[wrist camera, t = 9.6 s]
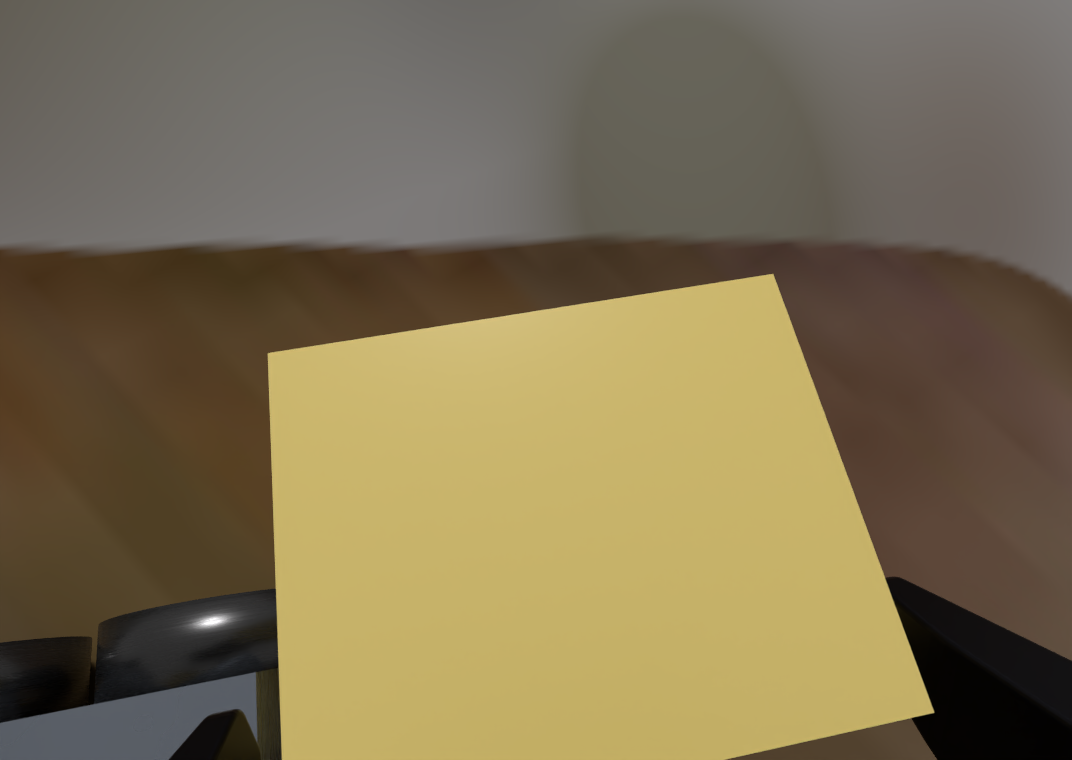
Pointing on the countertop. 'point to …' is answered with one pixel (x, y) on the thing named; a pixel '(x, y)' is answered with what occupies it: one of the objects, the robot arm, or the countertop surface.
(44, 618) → the countertop surface
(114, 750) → the trolley
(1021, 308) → the countertop surface
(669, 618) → the yellow block on base
